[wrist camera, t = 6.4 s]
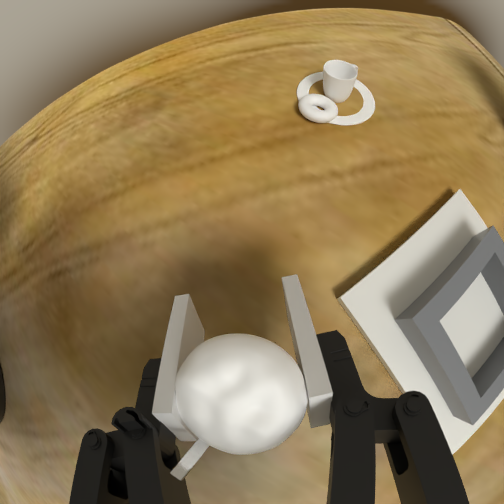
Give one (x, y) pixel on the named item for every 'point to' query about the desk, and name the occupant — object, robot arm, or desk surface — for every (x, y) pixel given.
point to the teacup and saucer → (334, 94)
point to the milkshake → (238, 397)
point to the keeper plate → (440, 316)
